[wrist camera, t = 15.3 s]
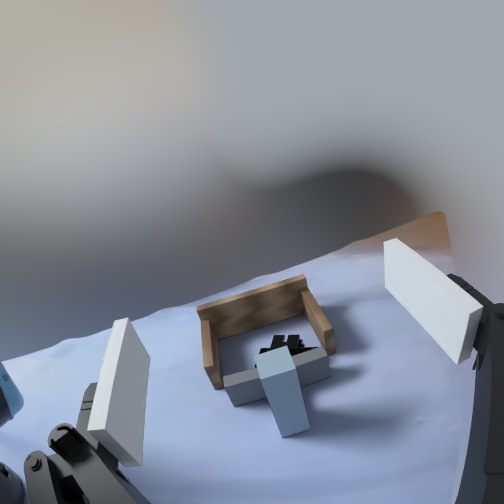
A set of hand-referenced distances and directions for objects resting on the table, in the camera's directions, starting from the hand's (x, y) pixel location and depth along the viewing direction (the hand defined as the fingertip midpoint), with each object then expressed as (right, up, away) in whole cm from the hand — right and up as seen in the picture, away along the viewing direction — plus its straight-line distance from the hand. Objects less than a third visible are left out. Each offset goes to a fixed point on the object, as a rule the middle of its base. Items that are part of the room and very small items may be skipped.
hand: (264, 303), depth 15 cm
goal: (+2, -13, +36) cm, 38 cm away
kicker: (+4, -18, +24) cm, 30 cm away
